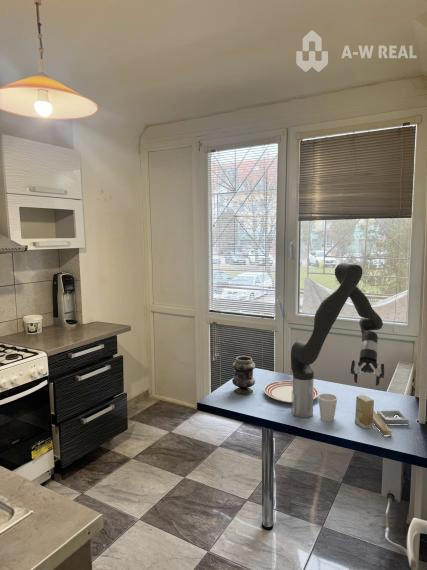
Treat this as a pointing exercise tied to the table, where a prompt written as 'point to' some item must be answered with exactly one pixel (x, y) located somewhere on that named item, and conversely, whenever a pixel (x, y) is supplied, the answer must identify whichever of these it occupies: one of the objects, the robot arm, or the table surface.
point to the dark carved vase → (243, 375)
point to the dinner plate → (283, 391)
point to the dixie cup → (327, 406)
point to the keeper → (392, 417)
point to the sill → (380, 424)
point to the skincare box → (364, 411)
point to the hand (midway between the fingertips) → (366, 383)
